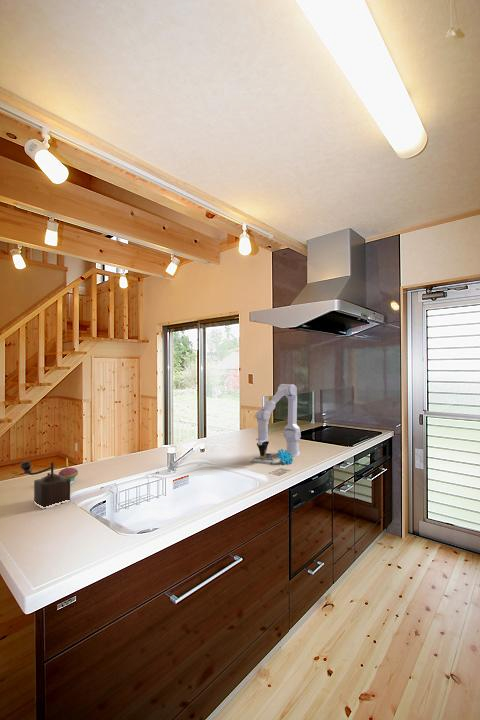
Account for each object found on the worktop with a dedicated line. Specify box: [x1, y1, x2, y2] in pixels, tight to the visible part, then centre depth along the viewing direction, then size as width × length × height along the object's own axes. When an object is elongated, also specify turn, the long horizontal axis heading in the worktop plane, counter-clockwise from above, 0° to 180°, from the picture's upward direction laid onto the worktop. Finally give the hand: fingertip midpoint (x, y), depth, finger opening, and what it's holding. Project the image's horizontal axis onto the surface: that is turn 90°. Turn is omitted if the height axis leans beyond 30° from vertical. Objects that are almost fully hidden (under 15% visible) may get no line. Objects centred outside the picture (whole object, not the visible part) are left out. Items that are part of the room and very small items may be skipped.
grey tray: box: [250, 456, 276, 465], centre depth 197 cm, size 8×12×1 cm
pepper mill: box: [20, 460, 71, 507], centre depth 139 cm, size 16×11×18 cm
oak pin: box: [260, 449, 267, 460], centre depth 197 cm, size 3×3×6 cm
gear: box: [276, 448, 295, 466], centre depth 195 cm, size 11×6×10 cm
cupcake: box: [57, 458, 79, 482], centre depth 164 cm, size 9×8×12 cm
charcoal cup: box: [266, 452, 274, 458], centre depth 205 cm, size 6×6×2 cm
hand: (263, 454), depth 197 cm, fingers closed on oak pin, 3 cm apart
